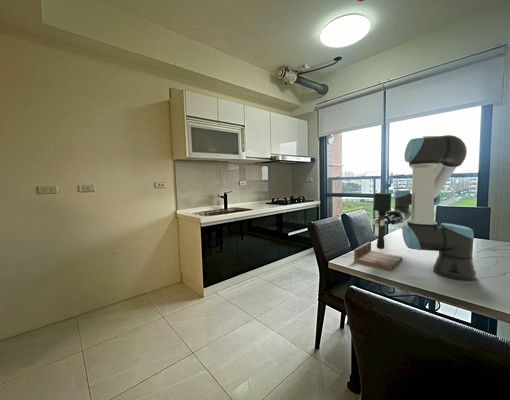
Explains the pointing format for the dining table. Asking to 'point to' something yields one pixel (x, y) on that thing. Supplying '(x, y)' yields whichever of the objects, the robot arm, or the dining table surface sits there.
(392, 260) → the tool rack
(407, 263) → the dining table surface
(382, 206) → the stick grenade
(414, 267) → the dining table surface
